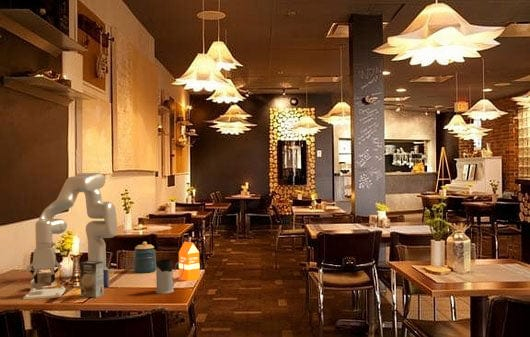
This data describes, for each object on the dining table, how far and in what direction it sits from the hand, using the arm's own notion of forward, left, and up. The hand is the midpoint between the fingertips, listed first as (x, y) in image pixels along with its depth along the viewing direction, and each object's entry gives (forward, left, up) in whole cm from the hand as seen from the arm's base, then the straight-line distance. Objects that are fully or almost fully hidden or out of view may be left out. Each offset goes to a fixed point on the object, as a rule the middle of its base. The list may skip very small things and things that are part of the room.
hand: (44, 282), depth 258 cm
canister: (-46, -48, -6) cm, 67 cm away
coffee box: (-23, +9, -6) cm, 25 cm away
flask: (-25, -12, -6) cm, 29 cm away
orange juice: (-70, -17, -6) cm, 73 cm away
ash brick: (+6, -15, -6) cm, 17 cm away
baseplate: (0, 0, -6) cm, 6 cm away
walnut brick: (0, 0, -1) cm, 1 cm away
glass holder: (-60, +9, -6) cm, 61 cm away
